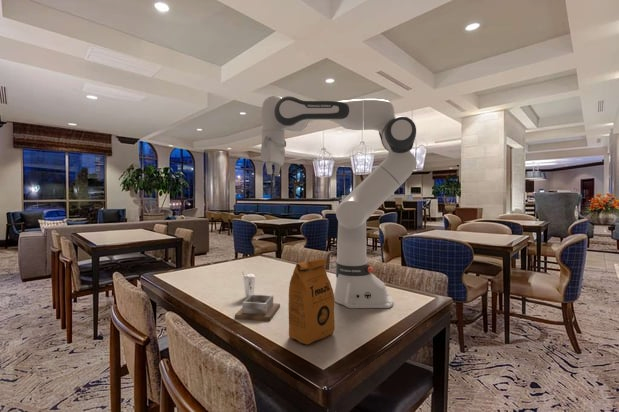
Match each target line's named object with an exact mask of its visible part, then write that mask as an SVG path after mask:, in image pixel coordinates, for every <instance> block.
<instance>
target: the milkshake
mask: <svg viewBox="0 0 619 412" xmlns="http://www.w3.org/2000/svg"><path fill="white" fill-rule="evenodd" d="M241 273H242V275H243V285H244V287H243V288H244V296H245V299H247V298H248V297H249V296H250V295H251V294H254V295H255V285H256V284H255V283H256V275H255V274H253V273H248V274H244V272H243V270H242V272H241Z"/></svg>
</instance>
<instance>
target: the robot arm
mask: <svg viewBox="0 0 619 412" xmlns="http://www.w3.org/2000/svg"><path fill="white" fill-rule="evenodd" d="M261 106H262V107H261V123H262V124H261V125H262V128H261V146H260V148H261V149H260V159H261V162H264V163H265V168H266V174H267V175H274V176H275V177H279V176H280V171H281V166H284V164H285V160H286V159H285V158H286V157H285V156H286V149H285V148H287V141H286V139H285V130H286V131H292V132H301V131H303V130H305V128H307V126H308V124H309V121H329V122H332V123H336V124H337V125H339V126H341V127H342V128H344V129H347V130H352V131H365V130H370V131H372V130H373V131H377V132H378V135H379V138H380V142H381V144H382V146H383V147H384V149H385V150H386V151H387V152H388V153H387V156H386V157H385V158H384V159H383V161H382V162H380V163H379V164H378V165H377V166H376V167H375V168H374V169H373V171H371V172H370V173H369V174H368V175H367V176H366V177H365V178H364V179H363V180H362V181H361V182H360V183H359V184H358V185H357V186H356V187H355V188H354V189H353V190H352V191H351V192H350V193H349V194H348V195H347V196H346V197H345V198H344V199H343V200H342V201H340V202H339V204H338V205H337V207H336V211H335V216H336V219H337V221H338V222H337V241H336V243H337V244H336V248H337V249H336V251H337V253H336V263H335V278H336V280H335V281H336V282H335V287H334V291H333V293H334V299H335V301H334V303H337V304H339V305H342V306H345V307H346V308H348V309H389V308H392V306H393V305H394V299H393V297H392V296H391V295H390V294H389V293H388V291H387V287H386V285H385V283H384V282H383V281H382V280H381V279H380V278H379V277H377V276H376V275H375V274H373V272H374V268H373V267H372V265H371V264H370V263H368V262H367V220H369V218H370V217H372V215H373V214H374V213H375V212H376V211H377V210H378V209H380V207H381V206H382V204H384V202H385V201H386V200H387V199H389V198H390V196H392V195H393V194H394V193H395V192H396V191H397V190H398V189H400V187H401V186H402V185H403V184H404V183H405V182H406V181H407V180H408V179H409V177H411V175H412V173H413V172H414V171H415V169H416V168H417V166H418V165H417V162H418V161H417V159H416V156H415V155H414V154H413V153H412V152H411V150H412V149H413V146H414V143H415V140H416V136H417V126H416V123H415V122H414V120H413V119H411V118H410V117H408V116H404V115H401V116H400V115H399V116H395V109H394V108H395V107H394V106H393V104H392V102H390V101H389V100H385V99H379V98H378V99H377V98H360V99H350V100H349V99H347V100H336V101H335V100H302V99H299V98H296V97H294V96H289V95H288V96H283V97H282V96H278V95H274V96H268V97H267V98H265V99H264V101H263V102H262V105H261ZM273 165H274V171H273V168H272V167H273Z"/></svg>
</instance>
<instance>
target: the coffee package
mask: <svg viewBox="0 0 619 412" xmlns="http://www.w3.org/2000/svg"><path fill="white" fill-rule="evenodd" d="M324 265H327V260H326V258H325V257H324V258H318V259H314V260H307V261H303V262H300V263H296V264H295V267H294V269H293V272H292V275H291V278H290V281H289V286H288V337H289V338H290V339H294V340H296V341H298V342H299V343H301V344H303V345H304V344H305V345H310V344H311V343H312V344H313V342H316V341H318V340H319V341H320V340H322V339H325V338H326V337H329V336H330V335H333V334H334V332H335V330H336V324H335V322H336V320H335V299H334V289H333V286H332V284H331V281H330V279H329V277H328V274H327V270H326V268H325V266H324Z"/></svg>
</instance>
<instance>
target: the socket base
mask: <svg viewBox="0 0 619 412" xmlns="http://www.w3.org/2000/svg"><path fill="white" fill-rule="evenodd" d="M241 304H242V307H241V308H240V309H239V310H238V311H237V312H236V313H234V319H238V320H252V321H253V320H254V321H266V322H271V320H272V319H273V318H274V316H275V315H276V314H277V312H278V310H279V309H280V308H281V303H276V302H274V295H268V294H255V293H254V294H251V295H250V296H249V297H248V298H245V300H244V301H242V303H241Z"/></svg>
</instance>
